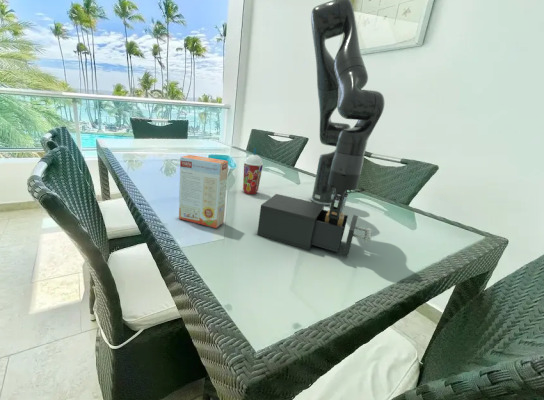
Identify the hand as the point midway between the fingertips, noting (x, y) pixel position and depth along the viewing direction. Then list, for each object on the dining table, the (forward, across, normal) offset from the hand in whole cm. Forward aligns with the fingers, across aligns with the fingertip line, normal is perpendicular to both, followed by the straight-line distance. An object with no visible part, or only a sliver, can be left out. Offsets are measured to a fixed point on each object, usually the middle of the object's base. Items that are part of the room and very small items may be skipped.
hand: (332, 227), depth 78 cm
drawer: (+5, 0, 0) cm, 5 cm away
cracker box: (+6, +9, -39) cm, 41 cm away
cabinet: (+6, 0, -12) cm, 13 cm away
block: (0, 0, 0) cm, 0 cm away
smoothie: (+6, -31, -39) cm, 50 cm away
